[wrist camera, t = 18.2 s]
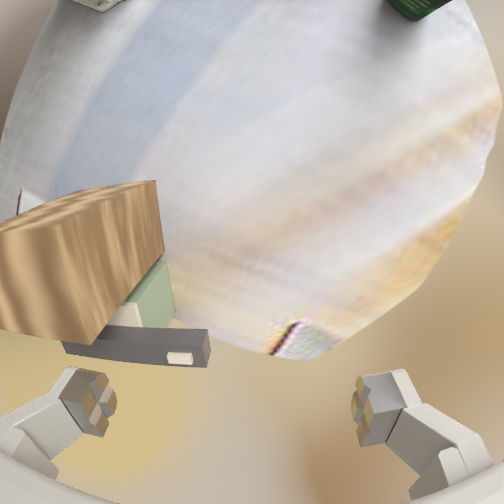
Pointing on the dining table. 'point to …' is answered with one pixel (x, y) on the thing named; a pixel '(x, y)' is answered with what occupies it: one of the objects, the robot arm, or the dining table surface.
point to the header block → (148, 301)
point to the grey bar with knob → (147, 346)
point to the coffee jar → (417, 7)
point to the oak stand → (77, 260)
